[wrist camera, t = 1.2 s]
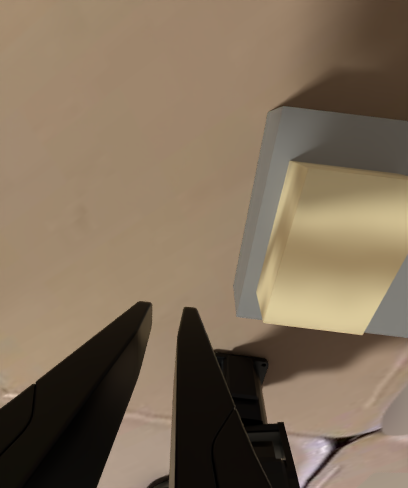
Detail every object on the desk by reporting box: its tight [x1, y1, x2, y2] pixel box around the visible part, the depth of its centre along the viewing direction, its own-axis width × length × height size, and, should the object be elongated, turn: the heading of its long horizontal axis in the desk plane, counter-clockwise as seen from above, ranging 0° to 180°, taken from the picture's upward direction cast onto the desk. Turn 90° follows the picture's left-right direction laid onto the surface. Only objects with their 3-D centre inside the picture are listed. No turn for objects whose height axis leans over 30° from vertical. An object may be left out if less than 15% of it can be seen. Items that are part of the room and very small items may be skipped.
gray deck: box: [233, 106, 408, 338], centre depth 17 cm, size 14×16×4 cm
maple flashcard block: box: [256, 161, 408, 335], centre depth 13 cm, size 9×6×3 cm, turn 174°
